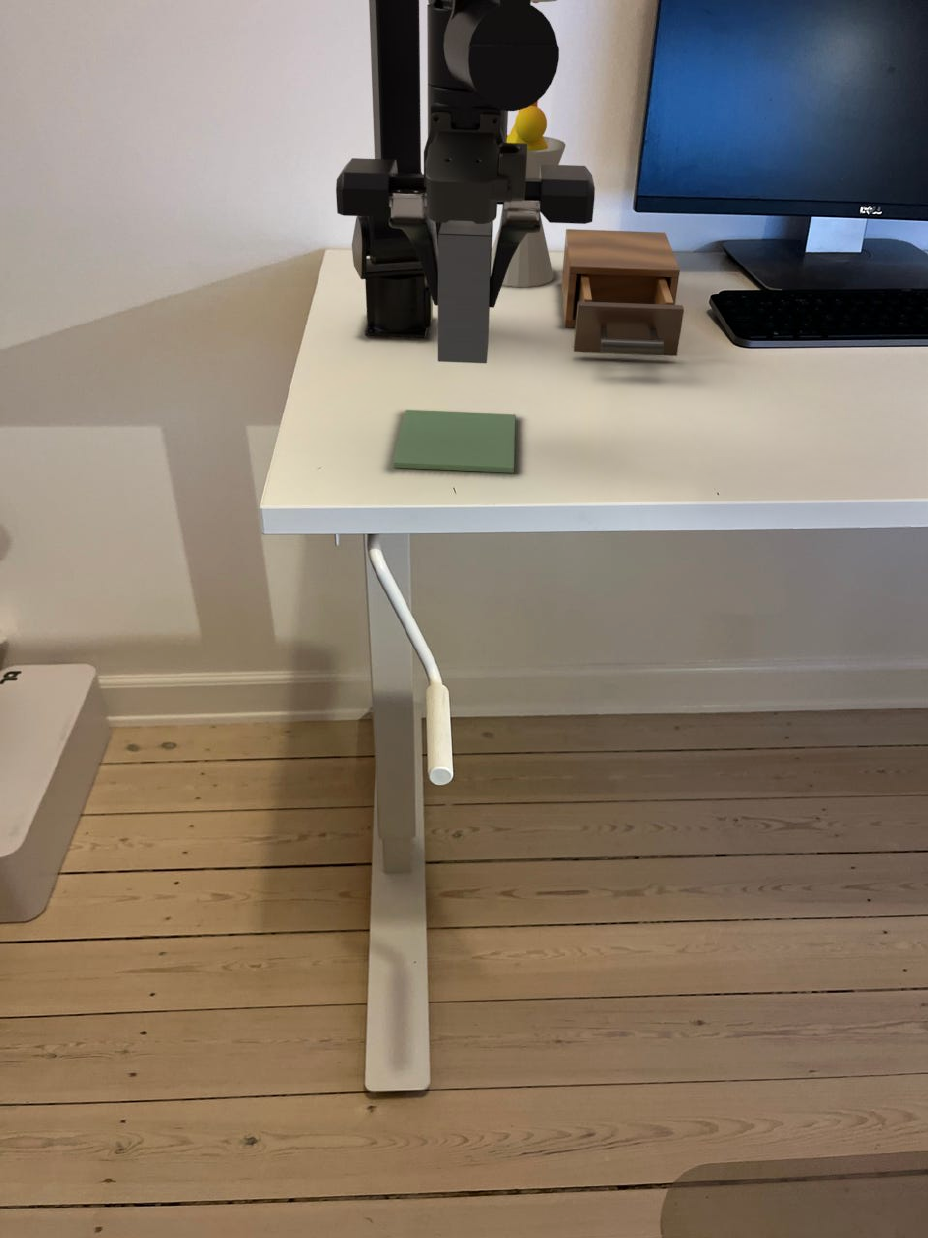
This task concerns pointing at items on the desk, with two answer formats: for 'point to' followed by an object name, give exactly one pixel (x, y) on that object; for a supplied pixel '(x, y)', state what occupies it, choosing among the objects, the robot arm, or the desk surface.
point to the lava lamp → (532, 252)
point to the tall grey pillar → (464, 291)
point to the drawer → (626, 315)
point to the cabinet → (614, 260)
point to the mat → (456, 441)
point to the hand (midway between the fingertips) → (464, 304)
